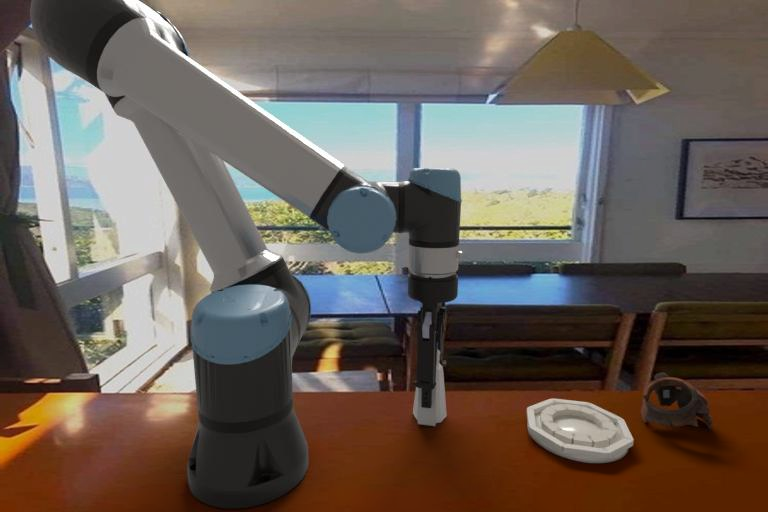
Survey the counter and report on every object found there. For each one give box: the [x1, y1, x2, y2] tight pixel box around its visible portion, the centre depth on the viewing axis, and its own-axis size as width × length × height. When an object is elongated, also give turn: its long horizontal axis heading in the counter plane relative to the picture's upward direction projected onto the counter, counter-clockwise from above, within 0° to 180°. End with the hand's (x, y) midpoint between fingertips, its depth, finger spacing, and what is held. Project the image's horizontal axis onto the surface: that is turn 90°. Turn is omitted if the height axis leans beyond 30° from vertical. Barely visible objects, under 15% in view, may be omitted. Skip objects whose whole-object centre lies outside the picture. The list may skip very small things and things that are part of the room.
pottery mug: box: [640, 372, 714, 431], centre depth 74 cm, size 12×10×8 cm
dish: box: [526, 398, 635, 464], centre depth 70 cm, size 14×14×2 cm
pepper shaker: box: [412, 349, 448, 424], centre depth 74 cm, size 5×5×11 cm
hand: (429, 413), depth 75 cm, fingers closed on pepper shaker, 5 cm apart
